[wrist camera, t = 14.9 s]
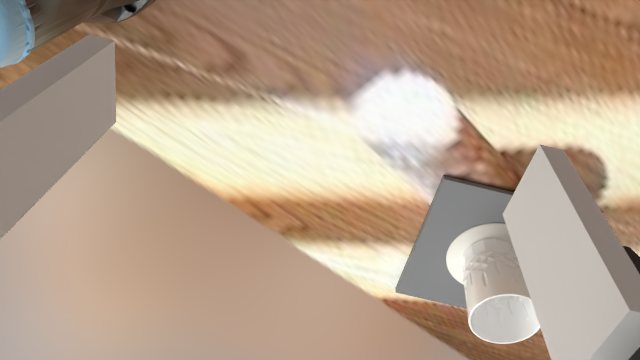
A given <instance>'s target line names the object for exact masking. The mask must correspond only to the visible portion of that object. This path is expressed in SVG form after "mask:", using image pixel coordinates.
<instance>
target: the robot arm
mask: <svg viewBox="0 0 640 360" xmlns="http://www.w3.org/2000/svg"><path fill="white" fill-rule="evenodd" d="M154 1H155V0H0V68H2V67H4V66H7V65H12V64H16V63H18V62H20V61H21V60H22V59H25V58H26V56H27V55H29V54H30V53H31V52H32V51H34V50H36V49H38V48H39V47H41V46H43V45H44V44H46V43H48V42H50V41H51V40H53V39H55V38H56V37H58V36H60V35H62V34H63V33H65V32H67V31H69V30H70V29H72V28H74V27H75V26H77V25H79V24H81V23H98V24H108V23H115V22H120V21H123V20H126V19H129V18H131V17H133V16H135V15H136V14H138V13H139V12H141V11H143V10H144V9H146V8H147V7H148V6H149V5H150V4H152V3H153V2H154ZM115 122H116V99H115V41H113V40H109V39H105V38H101V37H97V36H93V35H88V36H86V37H84V38H83V39H81V40H80V41H78V42H76V43H75V44H73V45H72V46H70V47H68V48H67V49H65V50H64V51H62V52H60V53H59V54H57V55H55V56H54V57H52V58H51V59H49V60H47V61H46V62H44V63H43V64H41V65H39V66H38V67H36V68H35V69H33V70H31V71H30V72H28V73H27V74H25V75H23V76H22V77H20V78H19V79H17V80H15V81H14V82H12V83H11V84H9V85H7V86H6V87H4V88H3V89H1V90H0V239H1V238H2V237H3V236H4V235H5V234H6V233H7V232H8V231H9V230H10V229H11V228H12V227H13V226H14V225H15V224H16V223H17V222H18V221H19V220H20V219H21V218H22V217H23V216H24V215H25V214H26V213H27V212H28V210H30V209H31V208H32V207H33V206H34V205H35V203H37V202H38V201H39V199H41V198H42V197H43V195H44V194H45V193H46V192H47V191H48V190H49V189H50V188H51V187H52V186H53V185H54V184H55V183H56V182H57V181H58V180H59V179H60V178H61V177H62V176H63V175H64V174H65V173H66V172H67V171H68V170H69V169H70V168H71V167H72V166H73V165H74V164H75V163H76V162H77V161H78V160H79V159H80V158H81V157H82V156H83V155H84V154H85V153H86V152H87V151H88V150H89V149H90V148H91V147H92V146H93V145H94V144H95V143H96V142H97V141H98V140H99V139H100V138H101V136H102V135H104V134H105V132H106V131H107V130H108V129H109V128H110V127H111V126H112V125H113V124H114V123H115ZM503 217H504V220H505V223H506V226H507V229H508V232H509V235H510V238H511V241H512V244H513V247H514V250H515V253H516V256H517V259H518V262H519V265H520V268H521V271H522V274H523V277H524V280H525V283H526V286H527V289H528V292H529V295H530V298H531V301H532V304H533V307H534V310H535V313H536V316H537V319H538V322H539V324H540V327H541V330H542V333H543V336H544V339H545V342H546V345H547V348H548V351H549V354H550V357H551V360H640V257H639V256H638V255H637V254H636V253H635V252H634V251H633V250H632V249H631V248H629V247H626V246H622V245H621V243H620V241H619V240H618V238H617V236H616V235H615V233H614V231H613V230H612V228H611V227H610V225H609V223H608V222H607V220H606V218H605V217H604V215H603V214H602V212H601V210H600V209H599V207H598V205H597V204H596V202H595V200H594V199H593V197H592V196H591V194H590V192H589V191H588V189H587V187H586V186H585V184H584V183H583V181H582V179H581V178H580V176H579V174H578V173H577V171H576V169H575V168H574V166H573V165H572V163H571V161H570V160H569V158H568V156H567V155H566V153H565V152H564V150H560V149H555V148H551V147H547V146H543V145H539V147H538V149H537V151H536V153H535V155H534V156H533V158H532V160H531V162H530V164H529V166H528V168H527V170H526V171H525V173H524V175H523V177H522V179H521V181H520V183H519V185H518V186H517V188H516V190H515V192H514V194H513V196H512V198H511V200H510V201H509V203H508V205H507V207H506V209H505V211H504V213H503Z"/></svg>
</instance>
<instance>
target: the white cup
mask: <svg viewBox="0 0 640 360" xmlns="http://www.w3.org/2000/svg"><path fill="white" fill-rule="evenodd" d="M462 267H463V281H464V291H465V299H466V306H467V314H468V322H469V326H470V329H471V330H472V332H473V333H474V334H475V335H476V336H478V337H479V338H481V339H483V340H485V341H488V342H492V343H499V344H508V343H515V342H519V341H522V340H525V339H527V338H529V337H531V336H532V335H534V334H535V333H536V332H537V331H538V330H539V329H540V324H539V322H538V319H537V316H536V313H535V310H534V307H533V304H532V301H531V298H530V295H529V292H528V289H527V286H526V283H525V280H524V277H523V274H522V271H521V268H520V265H519V262H518V259H517V256H516V253H515V250H514V247H513V246H512V245H511V244H509V243H508V242H507V241H503V240H500V239H496V238H493V239H482V240H480V241H478V242H476V243H473V244H471V245H470V246H469V247H468V249H467V250H466V251H465V252H464V254H463V258H462Z"/></svg>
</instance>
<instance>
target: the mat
mask: <svg viewBox="0 0 640 360" xmlns="http://www.w3.org/2000/svg"><path fill="white" fill-rule="evenodd" d="M513 194H514V192H511V191H506V190H502V189H498V188H494V187H490V186H486V185H481V184H477V183H473V182H469V181H465V180H460V179H456V178H452V177H448V176H444V175H443V177H442V180H441V182H440V185H439V187H438V189H437V192H436V194H435V196H434V199H433V201H432V203H431V206H430V208H429V211H428V213H427V215H426V218H425V220H424V222H423V225H422V227H421V229H420V232H419V234H418V237H417V239H416V241H415V244H414V246H413V248H412V251H411V253H410V255H409V258H408V260H407V263H406V265H405V267H404V270H403V272H402V274H401V277H400V279H399V281H398V284H397V286H396V292H397V293H401V294H405V295H410V296H414V297H418V298H423V299H427V300H431V301H436V302H440V303H444V304H449V305H453V306H457V307H462V308H466V309H467V306H466V299H465V291H464V281H463V267H462V258H463V254H464V252H465V251H466V250H467V249H468V247H469V246H470V245H471V244H473V243H476V242H478V241H480V240H482V239H493V238H496V239H500V240H503V241H507V242H508V243H509V244H511V245H512V246H513V244H512V241H511V238H510V235H509V232H508V229H507V226H506V223H505V220H504V217H503V213H504V211H505V209H506V207H507V205H508V203H509V201H510V200H511V198H512V196H513Z"/></svg>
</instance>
